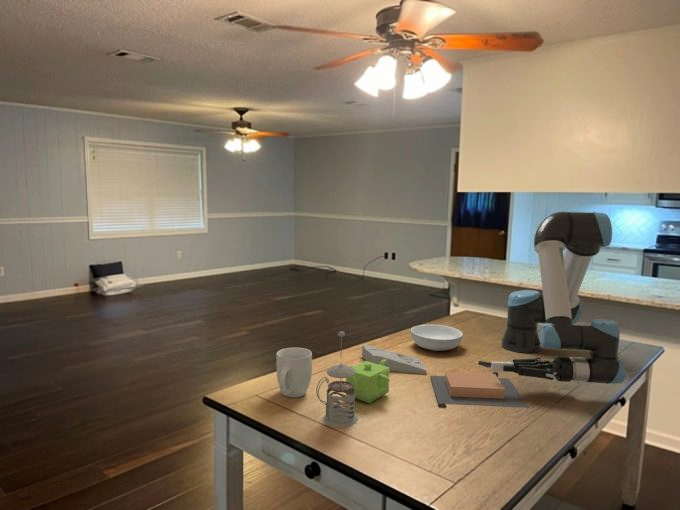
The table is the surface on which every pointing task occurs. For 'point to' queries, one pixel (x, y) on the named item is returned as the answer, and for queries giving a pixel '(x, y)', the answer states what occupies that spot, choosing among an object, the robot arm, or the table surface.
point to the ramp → (393, 360)
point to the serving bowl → (436, 337)
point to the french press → (335, 412)
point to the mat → (444, 398)
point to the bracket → (487, 365)
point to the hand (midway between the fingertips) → (491, 366)
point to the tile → (474, 385)
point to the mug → (294, 371)
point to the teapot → (370, 381)
